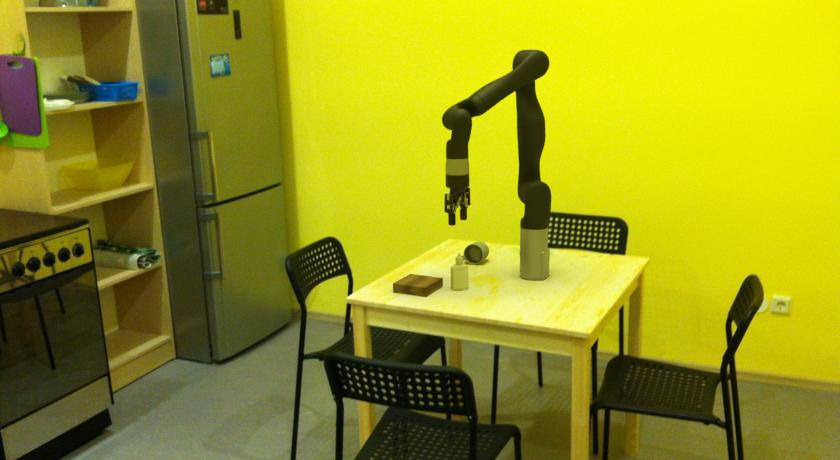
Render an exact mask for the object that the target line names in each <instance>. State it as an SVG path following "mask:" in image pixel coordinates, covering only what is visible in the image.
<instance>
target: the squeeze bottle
mask: <svg viewBox="0 0 840 460" xmlns="http://www.w3.org/2000/svg"><path fill="white" fill-rule="evenodd" d="M461 256H462V255H461V253H460V252H457V256H456V257H455V264H453V265H451V267H450V289H451V290H452V291H465V290H469V266H468V265H467V264H465V263H464V260H463V257H461Z"/></svg>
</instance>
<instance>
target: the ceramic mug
mask: <svg viewBox="0 0 840 460" xmlns="http://www.w3.org/2000/svg"><path fill="white" fill-rule="evenodd" d="M489 253H490V248H489V246H488V245H487V243H486V242H483V241H479V240H478V241H475V242H472V243H469V244H468V245H467V246H466V247H465V248H464V251H463V255H461V257H463V261H466V262H467V263H468V264H470V265H473V266H476V265H479V264H480V263H482V262H484V261H485V260H486V259H487V258H488V256H489V255H490V254H489Z"/></svg>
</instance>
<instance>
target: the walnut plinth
mask: <svg viewBox="0 0 840 460" xmlns="http://www.w3.org/2000/svg"><path fill="white" fill-rule="evenodd" d="M443 287H444V278H443V277H439V276H431V275H430V276H429V275H423V274H416V273H409V274H407V275H406V276H404V277H402V278H400V279H397V280H396V281H395V282H393V283H392V293H394V294H395V293H396V294H403V295H409V296H416V297H417V296H418V297H424V298H427V297H428V296H430V295H432V294H433V293H435V292H436V291H439V290H440V289H442V288H443Z"/></svg>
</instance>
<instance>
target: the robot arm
mask: <svg viewBox="0 0 840 460" xmlns="http://www.w3.org/2000/svg"><path fill="white" fill-rule="evenodd" d="M511 64H512V65H511V66H512V68H511V70H510V71H509V72H507V73H506V74H505V75H502V76H500V77H498V78H497V79H494V80H492V81H490V82H488V83H486V84H484V85H483V86H482V87H480V88H479V89H478V90H476V91H474V92H473V93H472V94H470V96H468V97H467V98H465V99H463V100H461V101H459V102H456V103H455V104H453V105H451V106H450V107H448V108H447V109H446V110H445V111H444V113H443V114H442V117H441V122H442V125H443V127H444V128H445V129H447V130H448V131H451V136H450V138H449V139H448V140H447V141H446V144H445V146H446V147H445V187H446V189H449V193H444V209H443V210H444V213H447V214H448V215H447V218H448V219H447V220H448V221H447V222H448V225H449V226H455V225H456V223H457V222H456V220H457V219H456V217H457V216H456V215H457V214H456V212H457V209H458V208H459V219H460V221H467V220H468V208H469V206H471V188H470V161H469V143H470V139H471V134H472V128H473V118H475V117H480V116H482V115H484V114H485V113H487V112H488V111H490V110H491V109H492V108H494V107H495V106H496V105H497V104H499V103H500V102H501V101H503V100H505V99H506V98H507V97H509V96H510V95H511V94H513V93H515V102H516V103H515V104H516V105H515V106H516V109H515V110H516V138H517V154H518V156H517V157H518V175H517V176H518V178H517V179H518V180H517V196H518V199H519V200H520V202H521V203H523V205H524V214H523V217H522V218H521V219H520V225H519V230H520V231H519V234H520V235H519V276H520V278H521V279H524V280H530V281H544V280H545V279H547V278H548V277H549V276H550V258H551V257H550V255H551V253H550V252H551V251H550V248H548V247H549V245H548V244H549V242H548V241H549V221H550V220H551V216H552V215H551V211H552V191H551V188H550V186H549V185H548V183H546V182H544V181H542V179H541V177H542V176H541V170H540V169H541V166H540V165H541V158H542V155H543V152H544V148H545V143H546V119H545V115H544V111H543V110H542V106H541V104H540V101H539V100H538V97H537V91H536V81H537V80H538V79H540V78H543V76H545V75H546V74H547V72H548V70H549V68H550V58H549V56H548V55H547V53H546V52H544V50H539V49H521V50H518V51H517V52H516V53H515V55H514V56H513V59H512V63H511Z"/></svg>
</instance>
